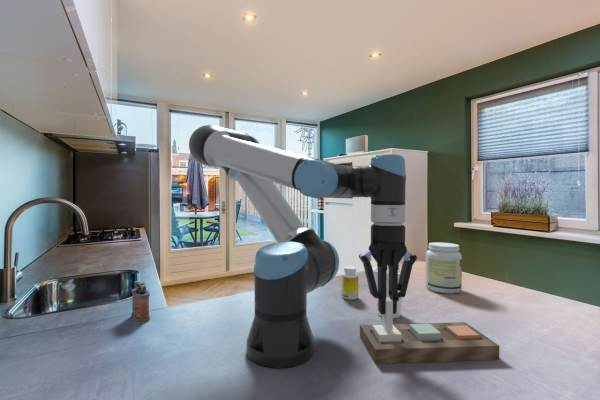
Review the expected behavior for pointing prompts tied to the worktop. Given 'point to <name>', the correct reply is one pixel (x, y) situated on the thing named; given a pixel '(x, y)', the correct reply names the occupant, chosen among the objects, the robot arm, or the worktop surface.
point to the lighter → (140, 303)
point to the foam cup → (399, 302)
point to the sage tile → (424, 332)
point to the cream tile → (386, 334)
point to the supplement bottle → (349, 283)
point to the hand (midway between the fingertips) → (387, 327)
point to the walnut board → (428, 346)
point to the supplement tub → (444, 268)
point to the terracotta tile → (462, 332)
